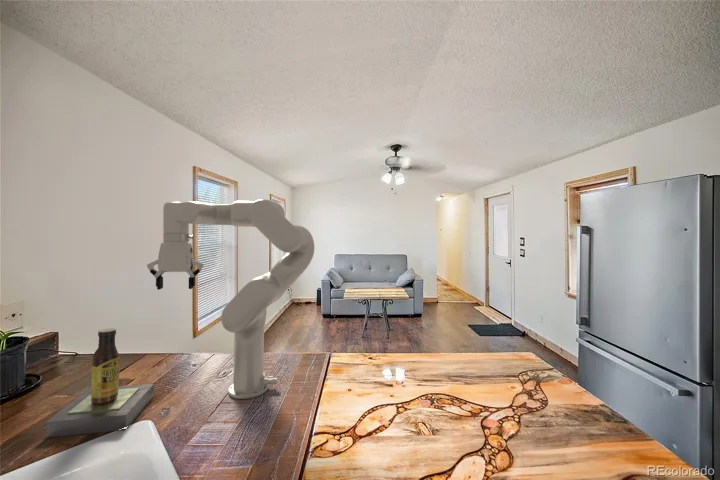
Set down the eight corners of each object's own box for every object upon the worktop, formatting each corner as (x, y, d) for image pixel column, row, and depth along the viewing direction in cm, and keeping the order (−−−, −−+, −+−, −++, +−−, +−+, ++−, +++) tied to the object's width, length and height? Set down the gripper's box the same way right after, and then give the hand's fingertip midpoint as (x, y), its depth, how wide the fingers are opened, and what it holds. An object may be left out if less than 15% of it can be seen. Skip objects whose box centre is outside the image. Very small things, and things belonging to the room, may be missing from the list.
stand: (153, 396, 104) (153, 382, 104) (126, 429, 86) (126, 413, 86) (88, 401, 100) (88, 387, 100) (45, 437, 82) (45, 420, 82)
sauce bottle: (103, 406, 89) (103, 334, 89) (84, 403, 90) (85, 333, 90) (124, 395, 96) (125, 328, 95) (107, 392, 97) (107, 326, 96)
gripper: (206, 238, 116) (205, 286, 116) (152, 238, 112) (152, 287, 113) (200, 239, 109) (200, 290, 109) (142, 238, 105) (142, 291, 105)
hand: (175, 288), depth 111 cm, fingers open, 9 cm apart
